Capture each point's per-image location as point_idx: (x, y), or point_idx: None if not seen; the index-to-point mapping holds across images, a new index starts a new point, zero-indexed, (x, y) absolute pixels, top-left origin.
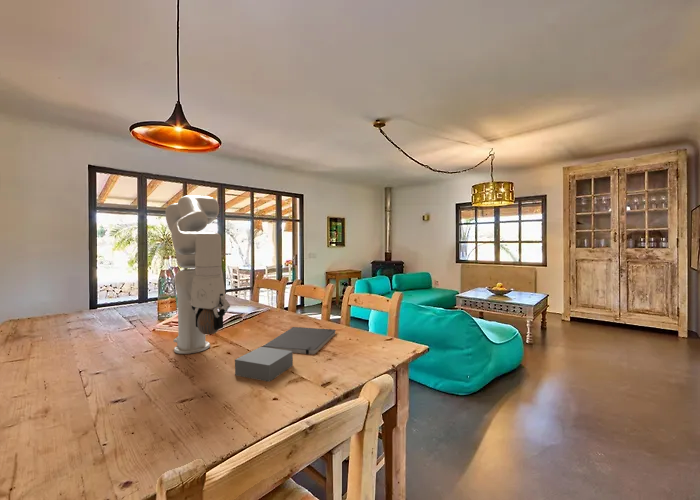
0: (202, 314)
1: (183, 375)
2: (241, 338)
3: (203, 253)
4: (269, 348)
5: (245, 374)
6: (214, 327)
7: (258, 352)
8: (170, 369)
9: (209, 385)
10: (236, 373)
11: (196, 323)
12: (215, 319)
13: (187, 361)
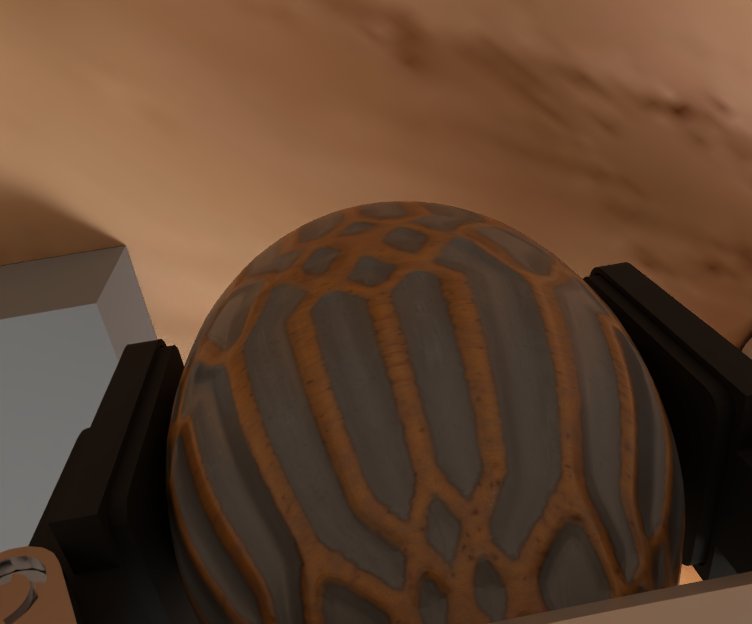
0: (455, 424)
1: (499, 27)
2: None
3: None
4: None
5: (10, 271)
6: (145, 360)
7: None
8: (698, 51)
9: (113, 4)
10: (107, 253)
11: (635, 289)
12: (70, 488)
13: (690, 220)
